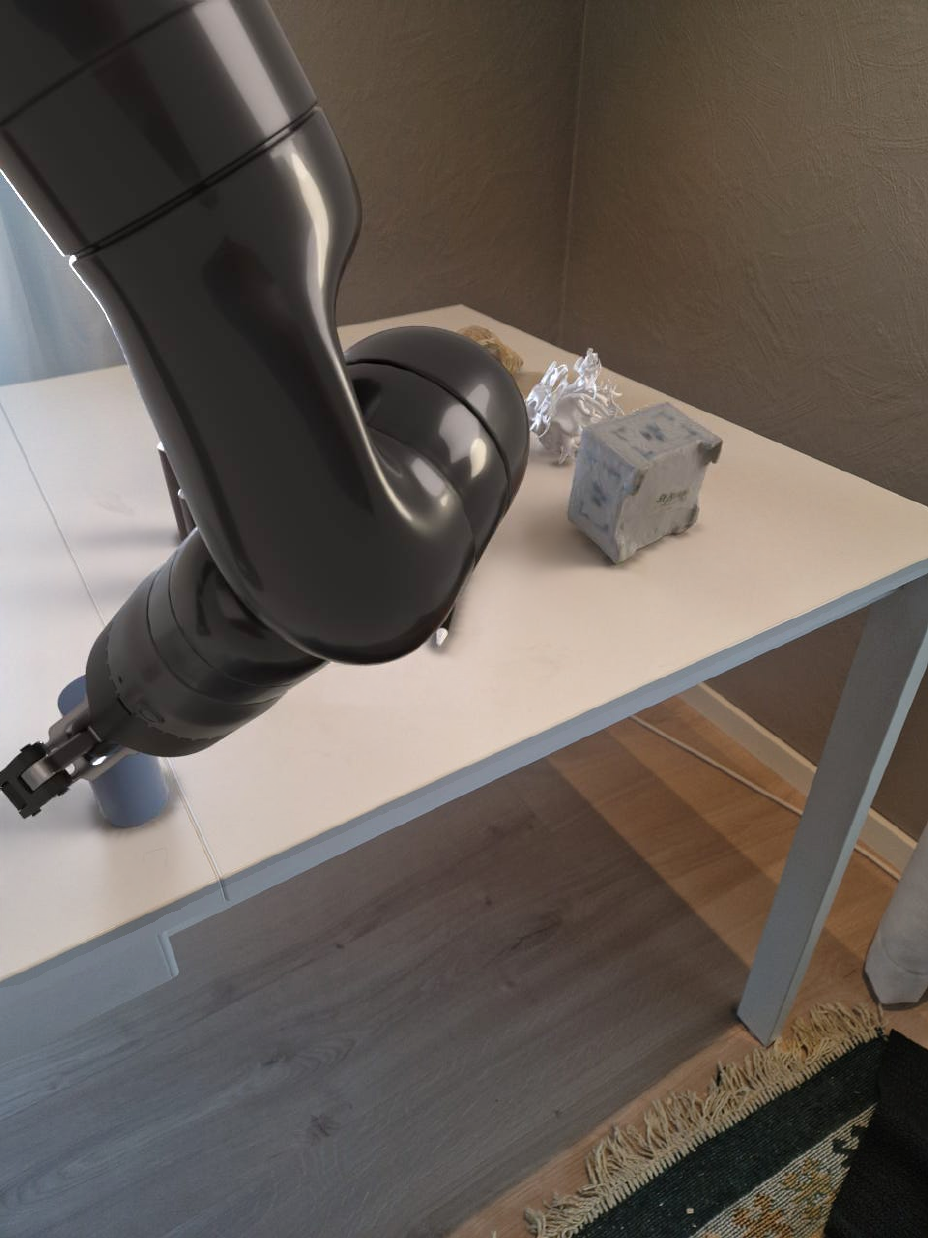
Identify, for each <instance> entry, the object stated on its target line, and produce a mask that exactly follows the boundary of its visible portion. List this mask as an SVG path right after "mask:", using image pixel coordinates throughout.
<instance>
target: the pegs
mask: <svg viewBox="0 0 928 1238" xmlns="http://www.w3.org/2000/svg"><path fill="white" fill-rule="evenodd" d="M157 452H158V455H159V460H160V464H161V467H162V471H163V475H164V479H165V483H166V487H167V490H168V491H167V492H168V495H169V498H170V503H171V507H172V510H173V514H174V519H175V522H176V526H177V531H178V533H179V538H180V541H181V542H183V541H184V540H185V538H186V537H187V536H188V535H189V534H190V533H191V532H192V531H193V530H194V529H195V528H196V527H197V526H196V524H195V521H194V519H193V517H192V514H191V512H190V510H189V507H188V505H187V502H186V500H185V498H184V495H183V493H182V491H181V488H180V486H179V483H178V481H177V479H176V476H175V474H174V472H173V469H172V467H171V464H170V462H169V460H168V457H167V455H166V452H165V450H164V448H163V445H162V443H161V441H160V442H159V443H158V445H157Z"/></svg>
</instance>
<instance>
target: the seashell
mask: <svg viewBox="0 0 928 1238" xmlns="http://www.w3.org/2000/svg"><path fill="white" fill-rule="evenodd" d="M451 331H452V332H455V333H458V334H461V335H463V336H465V337H468V338H470V339H471V340H473V341H475V342H477V343H478V344H480V345H481V346H483V347H484V348H486V349H487V350H488V351H490V352H491V353H492V354H493V355H494V356H495V357H497V358H498V359H499V360H500V362H501V363H502V364H503V365H504V366H505V368H506V369H507V370H508V372H509V373H510V374H511V375H513V374H517V373H518V372H520V371H521V369H522V368H523V365H524V358H522V357H521V355H519V354H518V353H517V352H516V351H515V350H513V348H511V347H510V346H509V345H508V344H506V343H503V342H502V341H500V338H499V336H497V335H496V334H495V333H494V332H493V331H491V330H489V328H486V327H482V326H479V325H477V324H466V325H463V326H462V327H460V328H457V329H454V330H451Z"/></svg>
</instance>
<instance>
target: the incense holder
mask: <svg viewBox="0 0 928 1238" xmlns="http://www.w3.org/2000/svg"><path fill="white" fill-rule="evenodd" d="M648 406H649V405H648ZM615 417H616V416H615ZM723 444H724V439H723V438H721V436H718V435H717V434H716V433H714V432H713V431H712V430H711V429H709V428H708V427H706V426H705V425H703V424H702V423H700V422H699V421H697V420H695V419H694V418H692V417H690V416H689V415H688V414H687V413H686V412H684V411H682V410H680V408H678V407H677V406H675V405H674V404H673V403H672V402H670V401H662V402H659V403H656V404H653V405H650V406H649V407H647V406H646V407H644V408H641V409H638V411H636V410H635V411H633V412H632V411H631V412H629V413H626V414H624V415H620V416H619V417H616V418H611V419H608V420H604V421H601V422H598V423H595V424H591V425H588V426H586V427H585V428H584V429H583V430H582V432H581V436H580V439H579V446H578V447H579V450H578V451H577V454H576V458H575V459H576V464H574V465H575V466H574V473H573V477H572V484H571V488H570V492H569V498H568V503H567V509H566V518H567V520H568V521H569V522H570V523H571V524H572V525H573V526H574V527H575V528H577V529H578V530H579V531H581V532H582V533H583V534H584V535H586V536H587V537H588V538H589V539H590V540H591V541H592V542H593V543H595V544H596V545H597V546H599V547H600V549H601V550H602V551H603V552H604V554H606V555H607V556H608V557H609V558H610V560H612V562H613V563H614V564H616V565H617V564H618V565H619V564H620V563H622V562H625V561H627V560H628V559H630V558H632V557H633V556H634V554H635V553H636V551H637V550H639V549H641V548H644V547H647V546H648V545H650V544H653V543H654V542H656V541H658V540H660V539H662V537H664V536H669V535H671V534H676V535H678V534H681V533H683V532H684V531H686V530H688V529H690V528H691V527H693V525H695V524H696V523H697V521H698V519H699V514H700V512H701V511H700V510H701V508H700V502H699V500H700V499H699V497H700V492H701V489H702V486H703V482H704V479H705V476H706V472H707V470H708V467H709V465H710V463H712V465H715V464H717V463H718V462H719V460H720V458H721V454H722V450H723Z"/></svg>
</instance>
